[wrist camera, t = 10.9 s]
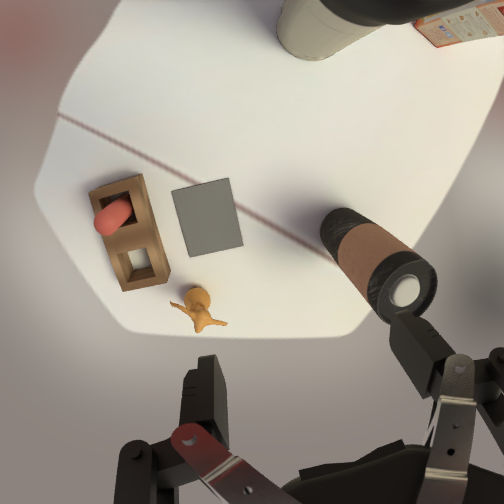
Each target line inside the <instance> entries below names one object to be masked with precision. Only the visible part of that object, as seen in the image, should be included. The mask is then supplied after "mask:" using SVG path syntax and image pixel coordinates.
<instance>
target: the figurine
mask: <svg viewBox="0 0 504 504" xmlns="http://www.w3.org/2000/svg"><path fill="white" fill-rule="evenodd" d="M210 302H211V300H210V296H209V294H208V293H207V291H205V290H204V289H202V288H192V289H190V290H189V291H188V292H187V293H186V295H185V298H184V304H185V307H186V308H185V307H183V306H181V305H179V304H176V303H172V302H171V301H170V304H171V306H172V307H173V306H174V307H177V308H179V309H180V310H182V311H183V312H184V313H186V314H188V315H189V316H190V317H191V318H192V321H193V322H194V328H195V332H196V333H199V332H201V331H202V329H203V328H204V327H205V326H207V325H212V324H215V325H222V326H226V325H227V324H228V323H226V322H223V321H220V320H214V319H212V318H211V315H210V313H209V312H208V311H207V309H208V308H209V306H210Z"/></svg>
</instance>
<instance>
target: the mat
mask: <svg viewBox="0 0 504 504" xmlns="http://www.w3.org/2000/svg"><path fill="white" fill-rule="evenodd" d="M172 194H173V198H174V202H175V206H176V209H177V213H178V217H179V220H180V224H181V228H182V231H183V235H184V238H185V242H186V245H187V249H188V252H189V256H190V257H195V256H199V255H204V254H208V253H213V252H218V251H222V250H227V249H231V248H236V247H241V246H244V245H243V241H242V236H241V232H240V227H239V223H238V218H237V213H236V209H235V204H234V200H233V195H232V191H231V186H230V182H229V178H227V179H222V180H218V181H213V182H209V183H205V184H200V185H196V186H192V187H188V188H184V189H180V190H176V191H172Z"/></svg>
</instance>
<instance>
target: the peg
mask: <svg viewBox="0 0 504 504" xmlns="http://www.w3.org/2000/svg"><path fill="white" fill-rule="evenodd" d="M134 212H135V211H134V208H133V204H132V201H131V197H130V194H124V195H122V196H121V197H119V198H118V199H116V200H115V201H114V202H112V203H111V204H110V205H108V206H107V207H105V208H104V209H103V210H101V211H100V212H99V213H98V214H97V215H96V216H95V218H94V226H95V229H96V230H97V231H98V232H99V233H100V234H101V235H104V236H109V235H112V234H113V233H114V232H115V231H116V230H117V229H118V228H119V227H120V226H121V225H122V224H123V223H124V222H125V221H126V220H127V219H128V218H129V217H130V216H131V215H132V214H133V213H134Z"/></svg>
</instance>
